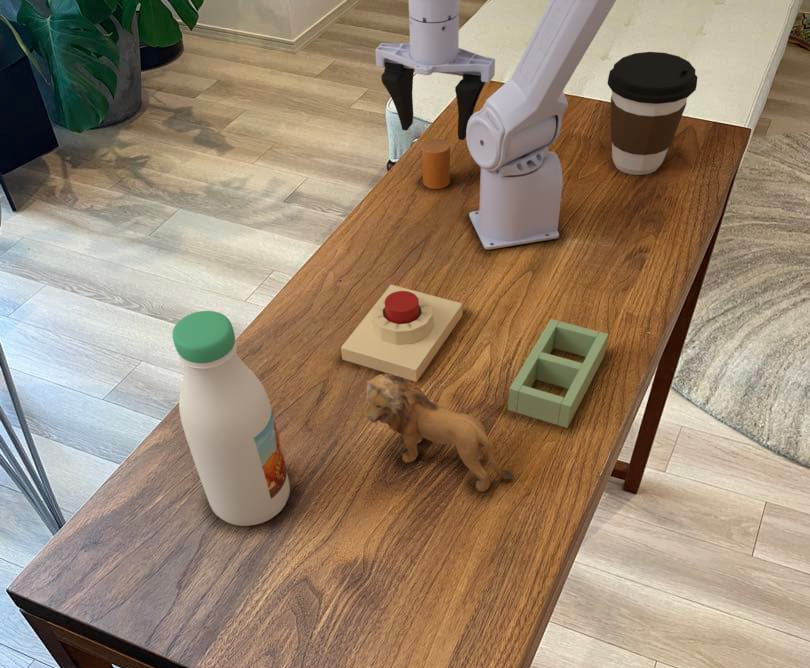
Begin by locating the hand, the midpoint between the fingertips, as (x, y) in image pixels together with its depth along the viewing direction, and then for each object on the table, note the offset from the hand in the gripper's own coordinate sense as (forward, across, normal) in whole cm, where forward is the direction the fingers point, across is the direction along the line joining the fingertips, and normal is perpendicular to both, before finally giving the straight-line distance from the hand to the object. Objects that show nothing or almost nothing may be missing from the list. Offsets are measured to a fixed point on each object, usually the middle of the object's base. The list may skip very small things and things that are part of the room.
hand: (435, 131), depth 106 cm
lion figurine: (+7, +18, -47) cm, 51 cm away
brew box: (+7, +8, -31) cm, 33 cm away
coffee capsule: (+7, 0, 0) cm, 7 cm away
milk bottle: (+7, +3, -57) cm, 58 cm away
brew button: (+4, +8, -31) cm, 32 cm away
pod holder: (+7, +26, -32) cm, 42 cm away
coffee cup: (+7, +24, +13) cm, 28 cm away
